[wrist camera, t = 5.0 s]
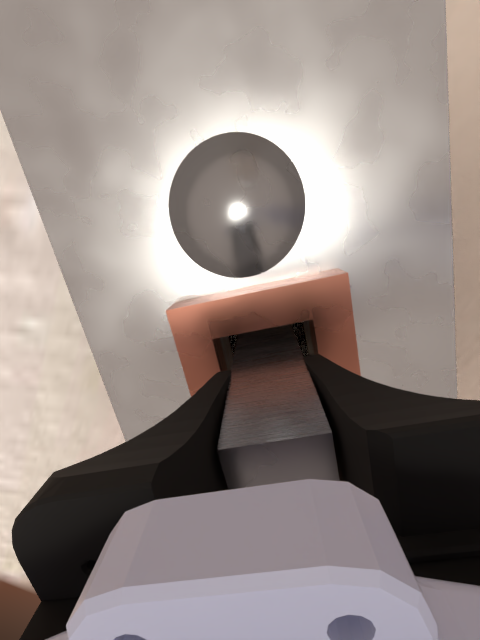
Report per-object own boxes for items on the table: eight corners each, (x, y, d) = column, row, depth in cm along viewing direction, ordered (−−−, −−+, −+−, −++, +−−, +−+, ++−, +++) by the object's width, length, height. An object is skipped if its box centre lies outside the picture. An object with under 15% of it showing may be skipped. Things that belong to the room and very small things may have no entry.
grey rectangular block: (288, 318, 15) (332, 432, 7) (297, 365, 16) (346, 523, 7) (238, 328, 16) (217, 449, 7) (248, 373, 16) (241, 535, 8)
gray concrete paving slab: (398, -123, 11) (476, -315, 7) (431, 450, 18) (481, 512, 14) (3, 12, 13) (-107, -83, 9) (169, 487, 19) (147, 551, 15)
